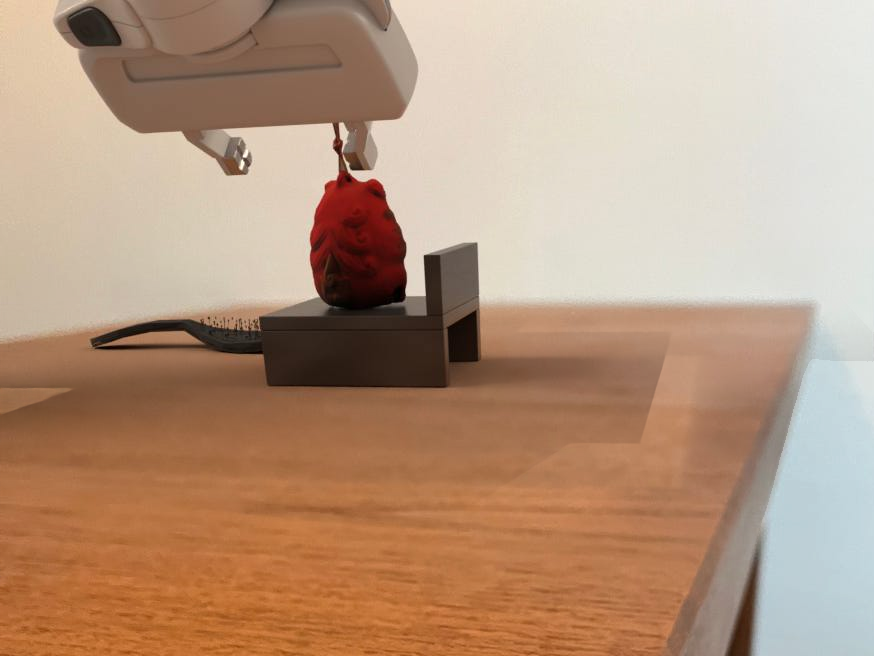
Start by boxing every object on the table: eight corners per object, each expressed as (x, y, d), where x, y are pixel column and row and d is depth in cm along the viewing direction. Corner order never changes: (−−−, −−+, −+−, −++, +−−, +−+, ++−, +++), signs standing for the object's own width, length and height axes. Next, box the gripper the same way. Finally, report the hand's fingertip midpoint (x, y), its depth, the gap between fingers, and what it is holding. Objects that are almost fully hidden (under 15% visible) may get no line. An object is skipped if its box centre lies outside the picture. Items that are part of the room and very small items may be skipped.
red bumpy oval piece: (425, 300, 78) (414, 83, 72) (379, 312, 73) (362, 77, 66) (344, 298, 82) (326, 90, 75) (293, 310, 76) (269, 85, 70)
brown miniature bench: (266, 385, 75) (250, 258, 71) (322, 358, 86) (311, 245, 82) (446, 387, 72) (440, 254, 69) (481, 358, 83) (477, 242, 79)
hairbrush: (109, 310, 99) (350, 293, 94) (118, 348, 100) (355, 333, 95) (63, 323, 91) (322, 304, 86) (73, 364, 93) (328, 348, 88)
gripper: (384, -95, 52) (457, 121, 65) (65, -54, 58) (188, 135, 71) (354, -6, 50) (435, 199, 63) (28, 26, 57) (160, 206, 69)
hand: (301, 165), depth 67 cm, fingers open, 8 cm apart
